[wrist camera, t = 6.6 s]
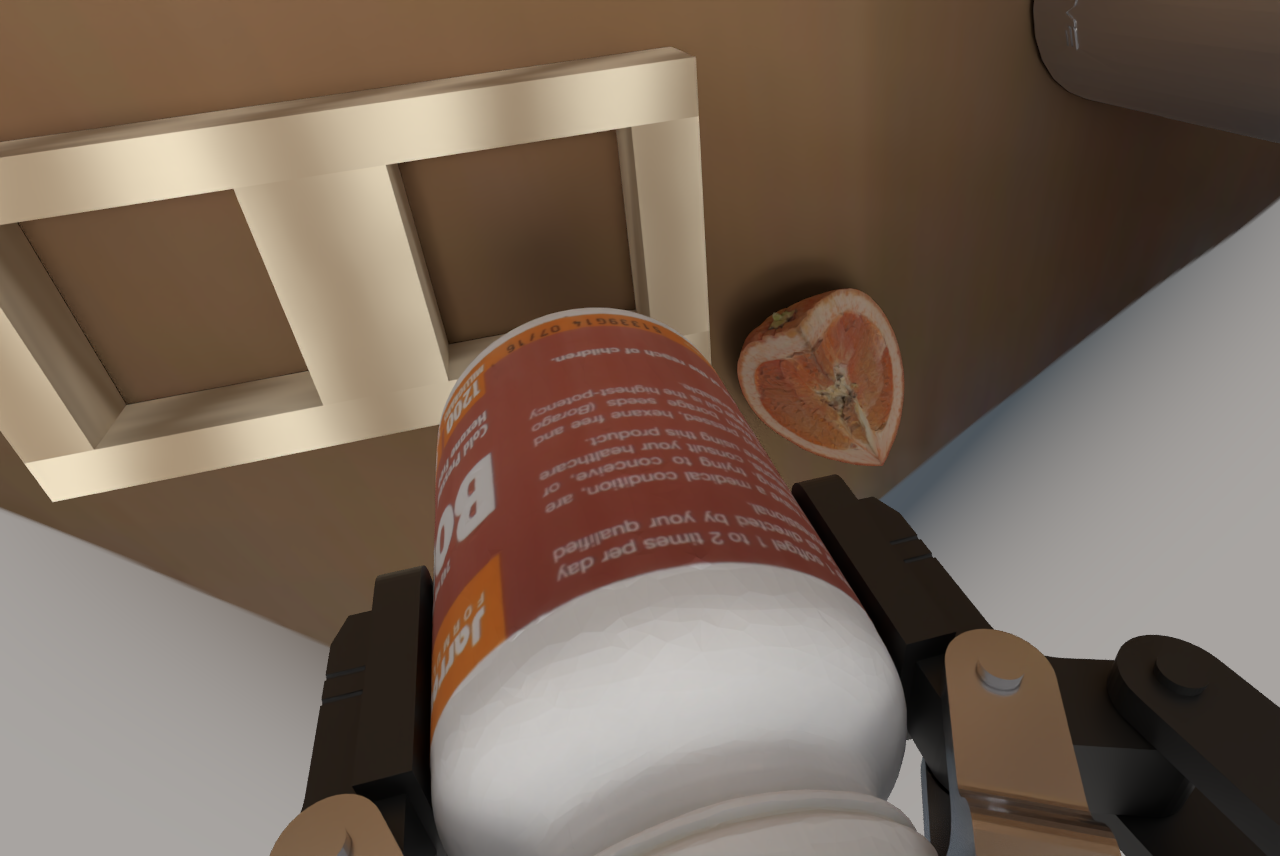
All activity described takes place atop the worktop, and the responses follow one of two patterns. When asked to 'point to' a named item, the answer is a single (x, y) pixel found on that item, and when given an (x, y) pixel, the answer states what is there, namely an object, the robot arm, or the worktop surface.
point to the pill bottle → (642, 620)
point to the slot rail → (324, 257)
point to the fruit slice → (827, 376)
